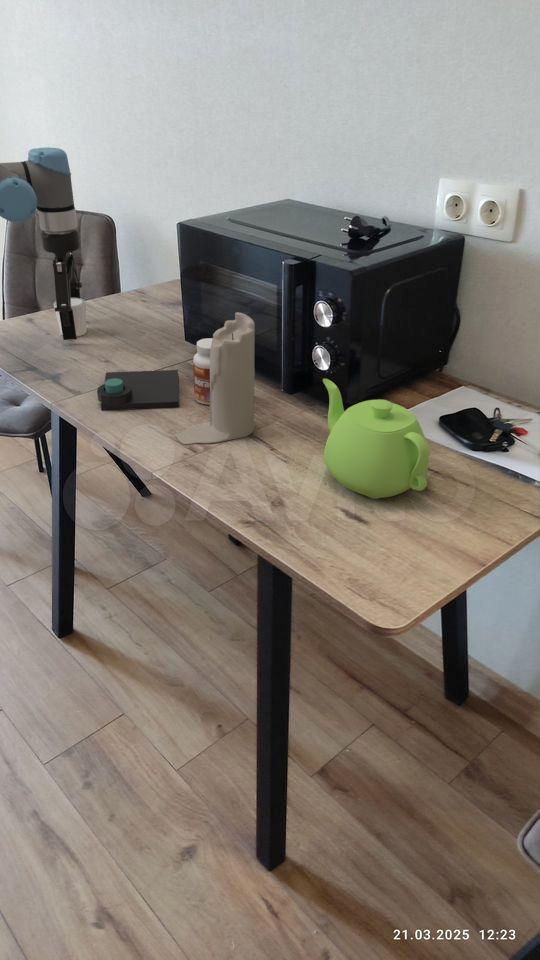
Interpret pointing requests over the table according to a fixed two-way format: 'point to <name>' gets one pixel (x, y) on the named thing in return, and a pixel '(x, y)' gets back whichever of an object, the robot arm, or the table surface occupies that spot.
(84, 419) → the table surface
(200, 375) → the pill bottle
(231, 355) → the candle
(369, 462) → the teapot
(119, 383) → the button
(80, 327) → the white cup
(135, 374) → the scale
